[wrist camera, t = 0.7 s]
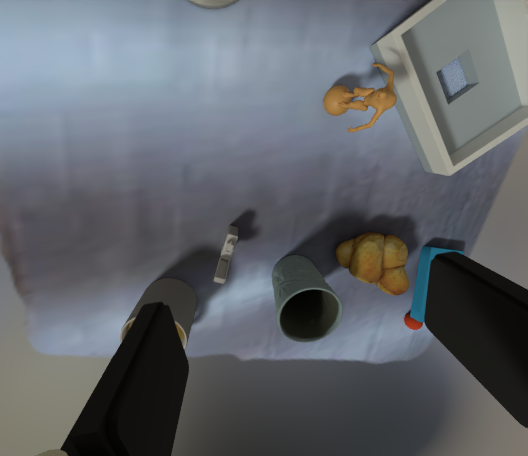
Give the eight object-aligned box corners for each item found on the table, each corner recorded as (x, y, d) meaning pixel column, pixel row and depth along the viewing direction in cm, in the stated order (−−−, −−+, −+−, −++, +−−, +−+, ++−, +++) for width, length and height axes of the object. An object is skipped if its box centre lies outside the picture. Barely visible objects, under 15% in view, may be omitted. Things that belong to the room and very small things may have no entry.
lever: (405, 242, 54) (392, 324, 55) (431, 247, 47) (415, 340, 48) (434, 246, 55) (420, 326, 56) (463, 251, 48) (447, 342, 49)
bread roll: (324, 263, 48) (340, 286, 41) (346, 217, 46) (367, 232, 38) (381, 279, 51) (406, 303, 43) (405, 236, 48) (435, 254, 40)
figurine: (331, 68, 37) (371, 38, 26) (367, 82, 38) (420, 60, 27) (311, 125, 40) (339, 121, 28) (345, 138, 41) (385, 138, 29)
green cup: (298, 241, 46) (317, 274, 35) (329, 276, 49) (356, 317, 38) (257, 274, 48) (262, 316, 37) (290, 306, 51) (304, 354, 40)
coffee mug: (143, 275, 46) (118, 311, 36) (199, 280, 47) (189, 316, 38) (143, 334, 50) (121, 379, 41) (194, 337, 51) (184, 381, 42)
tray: (369, 47, 37) (390, 32, 31) (476, -35, 34) (518, -66, 29) (424, 171, 44) (449, 175, 39) (516, 109, 42) (555, 105, 36)
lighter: (229, 224, 44) (226, 242, 36) (238, 227, 44) (238, 246, 37) (217, 259, 46) (212, 283, 38) (226, 262, 46) (223, 286, 39)
